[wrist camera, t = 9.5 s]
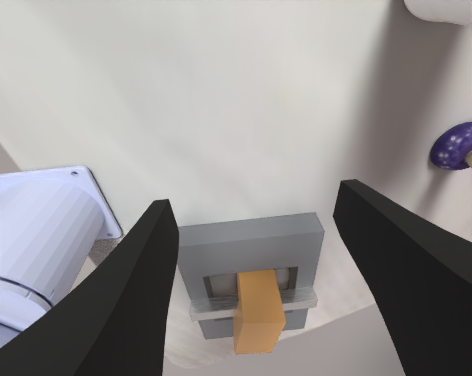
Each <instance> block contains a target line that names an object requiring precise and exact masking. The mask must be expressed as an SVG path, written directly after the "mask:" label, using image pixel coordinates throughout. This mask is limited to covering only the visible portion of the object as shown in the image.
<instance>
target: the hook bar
mask: <svg viewBox="0 0 472 376" xmlns="http://www.w3.org/2000/svg"><path fill="white" fill-rule="evenodd" d="M279 293H280V297H281V302H282V306H283V310H284V311H287V310H296V309H305V308H314V307H316V305H317V301H318V299H317V296H316V294H315V291H314V288H313V286H312V287H303V288H294V289H285V290H279ZM238 301H239V297H238V295H231V296H222V297H213V298H204V299H195V300H191V302H190V317H191V319H192V321H198V320H207V319H216V318H225V317H234V316H235V314H236V310H237V305H238Z"/></svg>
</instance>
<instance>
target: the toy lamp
mask: <svg viewBox="0 0 472 376" xmlns="http://www.w3.org/2000/svg"><path fill="white" fill-rule="evenodd" d="M431 161H432V162H433V163H434V164H435V165H437V166H438V167H441V168H444V169H448V170H462V169H466V168H469V167H471V168H472V122H466V123H463V124H459V125H457V126H455V127H453V128H452V129H450V130H449V131H447V132H446V133H445V134H444V135H442V136H441V137H440V138H439V139H438V140H437V142H436V143H435V145H434V147H433V148H432V152H431Z"/></svg>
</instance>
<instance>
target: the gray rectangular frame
mask: <svg viewBox="0 0 472 376" xmlns="http://www.w3.org/2000/svg"><path fill="white" fill-rule="evenodd" d="M178 230H179V251H178V259H177V264H178V267H179V270H180V273H181V275H182V278H183V281H184V283H185V286H186V289H187V291H188V294H189V297H190V300H195V299H204V298H213V293H212V290H211V286H210V282H209V278H208V276H215V275H224V274H233V273H242V272H251V271H260V270H269V269H278V268H287V267H290V275H289V285H288V289H294V288H303V287H312V286H313V284H314V279H315V274H316V269H317V265H318V260H319V255H320V250H321V246H322V241H323V236H324V232H325V231H324V229H323V227H322V225H321V223H320V221H319V219H318V217H317V215H316V213H305V214H296V215H287V216H278V217H268V218H259V219H250V220H240V221H231V222H222V223H212V224H203V225H194V226H185V227H178ZM307 312H308V308H305V309H296V310H287V311H284V315H285V319H286V324H285V326H284V328H283V330H282V331H284V330H293V329H302V328H304V326H305V321H306V317H307ZM198 321H199V324H200V327H201V329H202V332H203V335H204V337H205V339H214V338H223V337H232V336H234V333H233V317H225V318H216V319H207V320H198Z"/></svg>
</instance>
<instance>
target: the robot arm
mask: <svg viewBox="0 0 472 376" xmlns="http://www.w3.org/2000/svg"><path fill="white" fill-rule="evenodd" d="M73 171H74V172H77V173H78V174H75V173H74V172H73ZM333 218H334V221H335V224H336V226H337V229H338V231H339V234H340V236H341V238H342V240H343V242H344V244H345V246H346V247H347V249H348V251H349V253H350V255H351V256H352V258H353V260H354V262H355V263H356V265H357V267H358V269H359V270H360V272H361V274H362V276H363V277H364V279H365V281H366V283H367V285H368V287H369V288H370V290H371V292H372V294H373V296H374V299H375V301H376V303H377V305H378V308H379V310H380V312H381V314H382V316H383V319H384V321H385V324H386V326H387V329H388V331H389V334H390V336H391V338H392V341H393V343H394V346H395V348H396V351H397V354H398V356H399V359H400V361H401V364H402V367H403V370H404V372H405V375H406V376H472V242H470V241H468V240H465V239H463V238H461V237H459V236H457V235H455V234H452V233H450V232H448V231H446V230H444V229H442V228H440V227H438V226H436V225H434V224H433V223H431V222H429V221H427V220H425V219H423V218H421V217H419V216H418V215H416V214H414V213H412V212H410V211H409V210H407V209H405V208H404V207H402V206H400V205H398V204H397V203H395V202H393V201H392V200H390V199H388V198H387V197H385V196H383V195H382V194H380V193H378V192H377V191H375V190H374V189H372V188H370V187H369V186H367V185H365V184H363V183H362V182H360V181H358V180H356V179H353V180H343V181H341V183H340V187H339V191H338V196H337V200H336V205H335V209H334V213H333ZM110 233H111V234H110ZM121 234H122V231H121V229H120V227H119V226H118V224H117V222H116V220H115V218H114V216H113V214H112V212H111V210H110V209H109V207H108V205H107V203H106V201H105V199H104V197H103V195H102V193H101V192H100V190H99V188H98V186H97V184H96V182H95V180H94V178H93V176H92V175H91V173H90V171H89V169H88V168H86V167H84V166H74V167H64V168H54V169H45V170H35V171H25V172H16V173H6V174H0V376H162V372H163V358H164V345H165V333H166V322H167V314H168V307H169V302H170V297H171V291H172V286H173V281H174V275H175V270H176V265H177V259H178V251H179V230H178V227H177V223H176V220H175V217H174V214H173V211H172V208H171V205H170V202H169V199H164V200H155V201H153V202H152V204H151V205H150V206H149V207H148V209H147V210H146V211H145V212H144V214H143V215H142V216H141V217H140V219H139V220H138V221H137V223H136V224H135V225H134V226H133V227H132V229H131V230H130V231H129V232H128V234H127V235H126V236H125V237H124V238H123V240H122V241H121V242H120V243H119V244H118V245H117V246H116V247H115V249H114V250H113V251H112V252H111V253H110V254H109V255H108V256H107V257H106V259H105V260H104V261H103V262H102V263H101V264H100V265H99V266H98V267H97V268H96V269H95V270H94V271H93V272H92V273H91V274H90V275H89V276H88V277H87V278H86V279H84V280H83V281H82V282H81V283H80V284H79V285H78V286H77V287H76V288H75V289H74V290H72V291H71V292H70V293H69V291H70V289H71V287H72V285H73V283H74V281H75V279H76V277H77V275H78V273H79V271H80V269H81V267H82V265H83V263H84V261H85V259H86V258H87V256H88V254H89V252H90V250H91V248H92V246H93V244H94V242H95V240H102V239H111V238H119V237H120V236H121ZM68 293H69V294H68Z"/></svg>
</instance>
